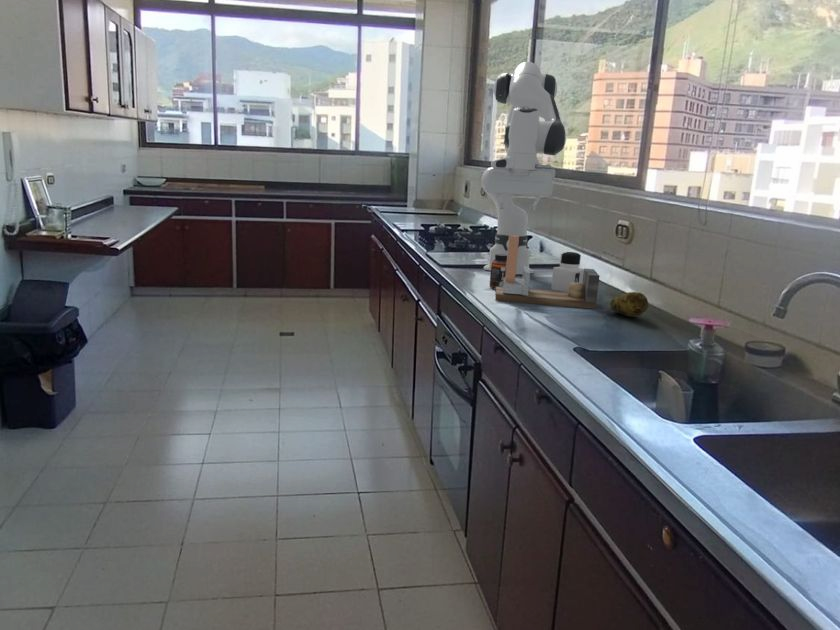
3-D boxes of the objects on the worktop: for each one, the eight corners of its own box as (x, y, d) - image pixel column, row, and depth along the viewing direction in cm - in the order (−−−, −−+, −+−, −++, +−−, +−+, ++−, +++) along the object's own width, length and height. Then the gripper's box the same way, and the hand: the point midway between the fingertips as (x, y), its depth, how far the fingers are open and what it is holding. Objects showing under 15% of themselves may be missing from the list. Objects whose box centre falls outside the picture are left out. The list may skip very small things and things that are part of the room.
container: (582, 291, 228) (587, 253, 224) (570, 294, 222) (575, 255, 219) (562, 287, 233) (566, 250, 229) (550, 289, 227) (554, 251, 224)
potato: (635, 312, 200) (638, 286, 199) (649, 323, 188) (653, 295, 186) (607, 311, 200) (610, 284, 198) (619, 322, 188) (623, 294, 186)
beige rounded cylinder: (567, 294, 211) (568, 282, 210) (581, 295, 210) (583, 283, 209) (568, 297, 206) (570, 284, 205) (583, 298, 206) (585, 285, 205)
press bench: (495, 292, 217) (498, 261, 214) (589, 300, 214) (593, 269, 212) (495, 300, 205) (498, 268, 203) (595, 308, 203) (599, 275, 200)
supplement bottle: (506, 290, 221) (509, 256, 218) (488, 288, 222) (491, 254, 219) (507, 287, 227) (511, 254, 224) (490, 285, 228) (493, 252, 225)
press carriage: (502, 286, 216) (507, 233, 212) (526, 287, 215) (531, 234, 211) (502, 293, 204) (507, 237, 200) (527, 295, 204) (533, 239, 200)
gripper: (555, 165, 203) (550, 211, 206) (487, 161, 205) (483, 206, 208) (557, 165, 197) (552, 213, 200) (487, 161, 199) (483, 208, 202)
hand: (516, 209), depth 204 cm, fingers open, 8 cm apart
